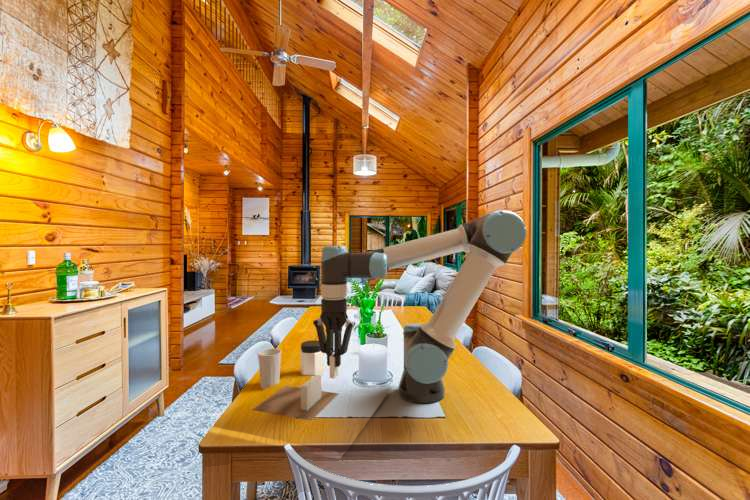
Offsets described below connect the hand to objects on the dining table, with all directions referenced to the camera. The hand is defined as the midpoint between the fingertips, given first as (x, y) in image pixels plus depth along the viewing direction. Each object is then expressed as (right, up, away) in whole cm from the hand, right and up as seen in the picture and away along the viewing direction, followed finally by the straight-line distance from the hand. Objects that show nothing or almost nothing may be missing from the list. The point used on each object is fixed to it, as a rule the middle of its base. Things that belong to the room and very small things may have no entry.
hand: (333, 376), depth 105 cm
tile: (-7, -9, +3) cm, 12 cm away
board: (-12, -10, +4) cm, 16 cm away
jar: (-12, -10, +30) cm, 33 cm away
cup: (-25, -10, +19) cm, 33 cm away
